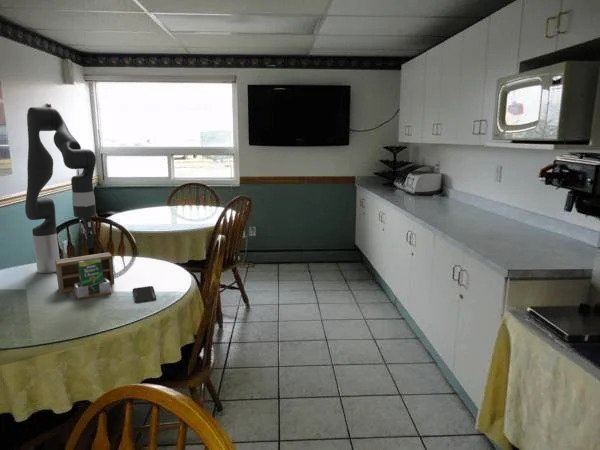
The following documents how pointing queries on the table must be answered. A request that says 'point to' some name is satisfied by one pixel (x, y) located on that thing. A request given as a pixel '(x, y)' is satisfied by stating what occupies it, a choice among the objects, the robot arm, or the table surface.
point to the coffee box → (90, 274)
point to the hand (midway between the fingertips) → (88, 245)
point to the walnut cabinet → (70, 272)
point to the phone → (144, 294)
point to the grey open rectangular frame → (84, 289)
